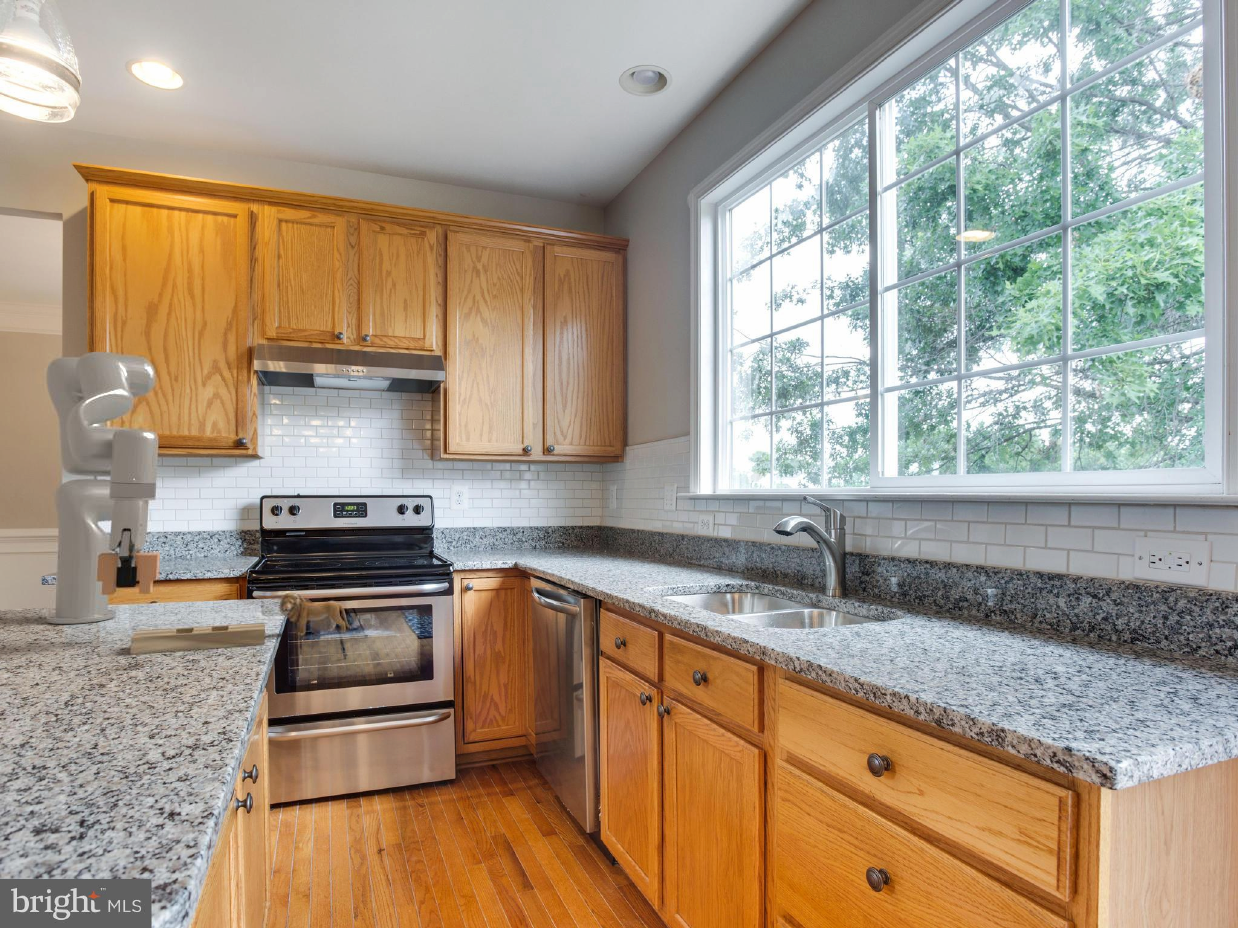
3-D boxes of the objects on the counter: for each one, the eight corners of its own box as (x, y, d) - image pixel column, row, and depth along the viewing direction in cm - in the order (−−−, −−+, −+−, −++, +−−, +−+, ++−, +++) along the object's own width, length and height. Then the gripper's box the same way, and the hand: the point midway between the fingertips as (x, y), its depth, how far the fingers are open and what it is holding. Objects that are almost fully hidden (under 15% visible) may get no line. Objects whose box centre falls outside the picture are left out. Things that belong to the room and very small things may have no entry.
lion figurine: (279, 639, 145) (280, 594, 146) (277, 633, 150) (278, 591, 150) (354, 632, 153) (356, 590, 153) (350, 628, 157) (351, 587, 157)
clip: (99, 591, 139) (101, 552, 139) (157, 590, 143) (159, 552, 143) (95, 595, 136) (98, 555, 136) (155, 593, 140) (157, 555, 140)
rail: (136, 646, 136) (137, 630, 136) (264, 637, 146) (265, 622, 146) (130, 654, 130) (131, 637, 130) (264, 644, 140) (265, 629, 140)
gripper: (117, 489, 145) (112, 578, 145) (101, 494, 131) (95, 593, 131) (161, 490, 149) (156, 577, 149) (149, 495, 134) (144, 592, 134)
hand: (127, 584), depth 140 cm, fingers closed on clip, 3 cm apart
